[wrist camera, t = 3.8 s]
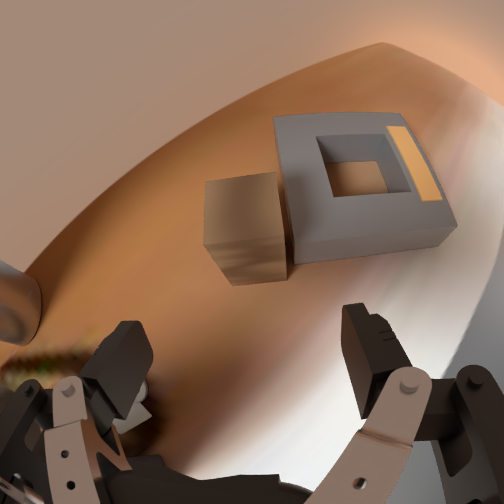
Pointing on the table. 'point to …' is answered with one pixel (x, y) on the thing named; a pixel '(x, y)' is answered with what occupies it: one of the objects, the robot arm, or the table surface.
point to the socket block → (360, 206)
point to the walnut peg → (245, 228)
